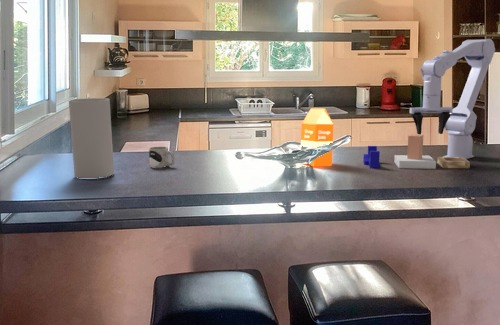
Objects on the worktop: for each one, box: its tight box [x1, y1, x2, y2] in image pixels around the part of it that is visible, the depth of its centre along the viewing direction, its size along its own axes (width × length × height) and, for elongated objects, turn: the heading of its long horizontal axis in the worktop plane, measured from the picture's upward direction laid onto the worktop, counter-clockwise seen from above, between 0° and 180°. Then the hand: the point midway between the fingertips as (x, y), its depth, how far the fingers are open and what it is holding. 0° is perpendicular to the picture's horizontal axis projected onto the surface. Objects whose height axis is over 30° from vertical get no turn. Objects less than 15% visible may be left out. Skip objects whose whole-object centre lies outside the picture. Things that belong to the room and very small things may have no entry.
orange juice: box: [300, 107, 334, 167], centre depth 189 cm, size 8×9×20 cm
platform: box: [394, 154, 437, 170], centre depth 187 cm, size 12×11×2 cm
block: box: [406, 133, 424, 160], centre depth 185 cm, size 4×4×8 cm
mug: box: [148, 146, 176, 167], centre depth 189 cm, size 10×7×7 cm, turn 62°
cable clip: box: [362, 145, 381, 170], centre depth 188 cm, size 12×4×6 cm, turn 172°
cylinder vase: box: [68, 97, 115, 179], centre depth 174 cm, size 12×12×25 cm
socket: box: [436, 156, 471, 169], centre depth 185 cm, size 9×9×2 cm
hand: (429, 133), depth 189 cm, fingers open, 7 cm apart
